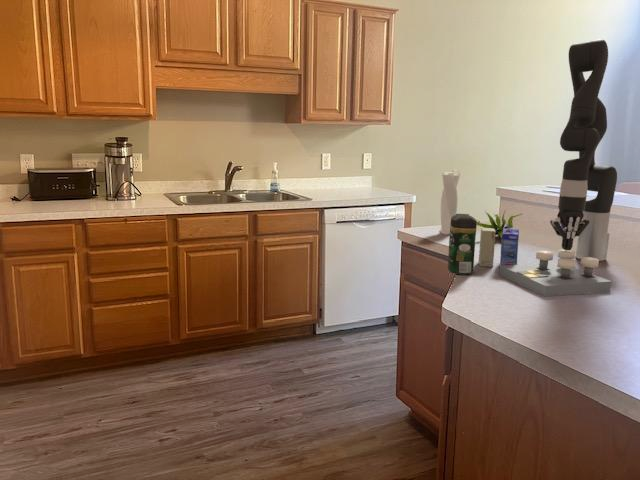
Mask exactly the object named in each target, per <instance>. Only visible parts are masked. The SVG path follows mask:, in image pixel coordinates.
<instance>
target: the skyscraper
mask: <svg viewBox="0 0 640 480" xmlns="http://www.w3.org/2000/svg"><path fill="white" fill-rule="evenodd" d="M454 171H456V172H457V173H458V174H456V172H454ZM441 176H442V184H443V189H442V193H441V198H440V199H441V200H440V224H441V228H440V230H439V232H440V233H441V235H449V236H450V223H451V217H452V216H454V215H456V214H457V212H458V191H457V186H458V183H459V179H460V176H461V174H460V172H459V170H458V169H456V168H454V169H452V171H450V172H449V171H444V172H442V175H441Z"/></svg>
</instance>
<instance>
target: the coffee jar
mask: <svg viewBox="0 0 640 480" xmlns="http://www.w3.org/2000/svg"><path fill="white" fill-rule="evenodd" d="M477 222H478V220H477V219H476V218H475V217H473V216H472V215H470V214H469V213H456V215H454V216H452V217H451V223H450V235H449V238H448V239H449V240H448V256H447V269H448V271H449V273H452V274H456V275H460V276H465V275H472V274H473V273H474V267H475V266H474V264H475V251H476V249H475V248H476V236H477V227H478V225H477Z"/></svg>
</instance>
